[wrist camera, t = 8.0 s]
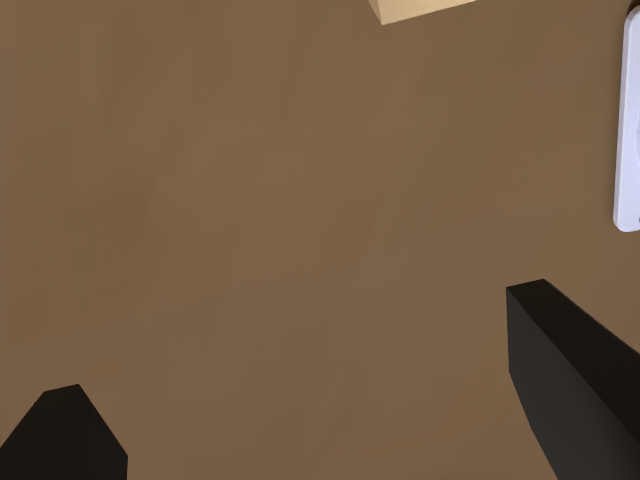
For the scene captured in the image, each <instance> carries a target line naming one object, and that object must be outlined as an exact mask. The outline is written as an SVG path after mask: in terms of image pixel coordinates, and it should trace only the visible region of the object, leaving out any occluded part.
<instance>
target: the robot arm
mask: <svg viewBox="0 0 640 480" xmlns="http://www.w3.org/2000/svg"><path fill="white" fill-rule="evenodd" d="M613 221H614V224H615V225H616V226H617V227H618V228H619V229H620V230H621V231H624V232H631V231H635V230H639V229H640V5H638V6H636V7H635V8H634V9H633V10H632V11H631V12H630V13H629V15H628V16H627V18H626V21H625V25H624V41H623V58H622V76H621V93H620V110H619V127H618V145H617V162H616V179H615V197H614V214H613ZM506 302H507V328H508V355H509V373H510V375H511V378H512V381H513V383H514V386H515V388H516V391H517V394H518V396H519V399H520V401H521V404H522V406H523V409H524V411H525V414H526V416H527V419H528V421H529V424H530V426H531V429H532V431H533V433H534V435H535V436H536V438H537V440H538V442H539V444H540V446H541V448H542V450H543V452H544V454H545V456H546V458H547V459H548V461H549V463H550V465H551V467H552V469H553V471H554V473H555V475H556V477H557V478H558V480H640V354H639V353H638V352H637V351H635V350H634V349H633V348H631V347H630V346H629V345H627V344H626V343H625V342H623V341H622V340H621V339H619V338H618V337H617V336H615V335H614V334H613V333H612V332H610V331H609V330H608V329H606V328H605V327H604V326H603V325H601V324H600V323H599V322H598V321H596V320H595V319H594V318H593V317H591V316H590V315H589V314H588V313H586V312H585V311H584V310H583V309H581V308H580V307H579V306H578V305H576V304H575V303H574V302H573V301H571V300H570V299H569V298H568V297H567V296H565V295H564V294H563V293H562V292H561V291H559V290H558V289H557V288H556V287H554V286H553V285H552V284H551V283H549V282H548V281H546V280H545V279H540V280H536V281H531V282H527V283H522V284H518V285H514V286H509V287H506ZM127 463H128V455H127V454H126V452H125V451H124V449H123V448H122V446H121V445H120V443H119V442H118V440H117V439H116V438H115V436H114V435H113V433H112V432H111V430H110V429H109V427H108V426H107V424H106V423H105V421H104V420H103V419H102V417H101V416H100V414H99V413H98V411H97V410H96V408H95V407H94V405H93V404H92V402H91V401H90V399H89V398H88V397H87V395H86V394H85V392H84V391H83V389H82V388H81V386H80V385H79V384H76V385H71V386H67V387H62V388H58V389H54V390H49V391H45V392H43V394H42V395H41V396H40V397H39V398H38V400H37V401H36V402H35V403H34V405H33V406H32V407H31V408H30V410H29V411H28V412H27V413H26V415H25V416H24V417H23V419H22V420H21V421H20V423H19V424H18V425H17V426H16V428H15V429H14V430H13V432H12V433H11V434H10V436H9V437H8V438H7V440H6V441H5V442H4V444H3V445H2V446H1V448H0V480H127Z"/></svg>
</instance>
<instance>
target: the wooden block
mask: <svg viewBox="0 0 640 480" xmlns="http://www.w3.org/2000/svg"><path fill="white" fill-rule="evenodd" d="M368 1H369V3H370V5H371V6H372V8H373V10H374V12H375V13H376V15H377V17H378V19H379V21H380V22H381V24H382V25H385V24H389V23H393V22H396V21H400V20H404V19H408V18H411V17H415V16H419V15H423V14H426V13H430V12H434V11H438V10H441V9H445V8H449V7H453V6H456V5H460V4H464V3H468V2H472V1H475V0H368Z"/></svg>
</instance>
